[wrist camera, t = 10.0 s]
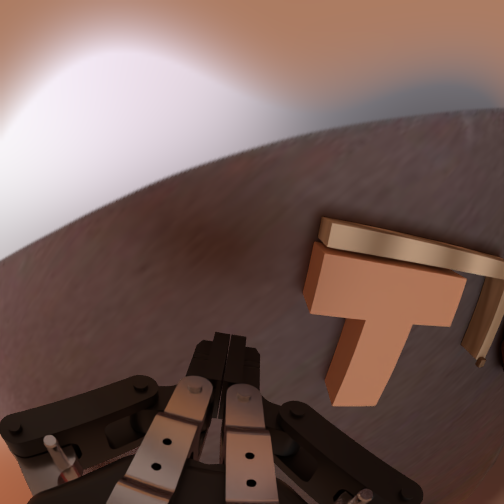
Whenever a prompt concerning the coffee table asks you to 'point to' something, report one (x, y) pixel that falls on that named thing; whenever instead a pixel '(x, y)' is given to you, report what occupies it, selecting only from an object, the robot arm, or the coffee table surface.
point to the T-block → (374, 314)
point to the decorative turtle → (503, 350)
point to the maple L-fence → (435, 254)
